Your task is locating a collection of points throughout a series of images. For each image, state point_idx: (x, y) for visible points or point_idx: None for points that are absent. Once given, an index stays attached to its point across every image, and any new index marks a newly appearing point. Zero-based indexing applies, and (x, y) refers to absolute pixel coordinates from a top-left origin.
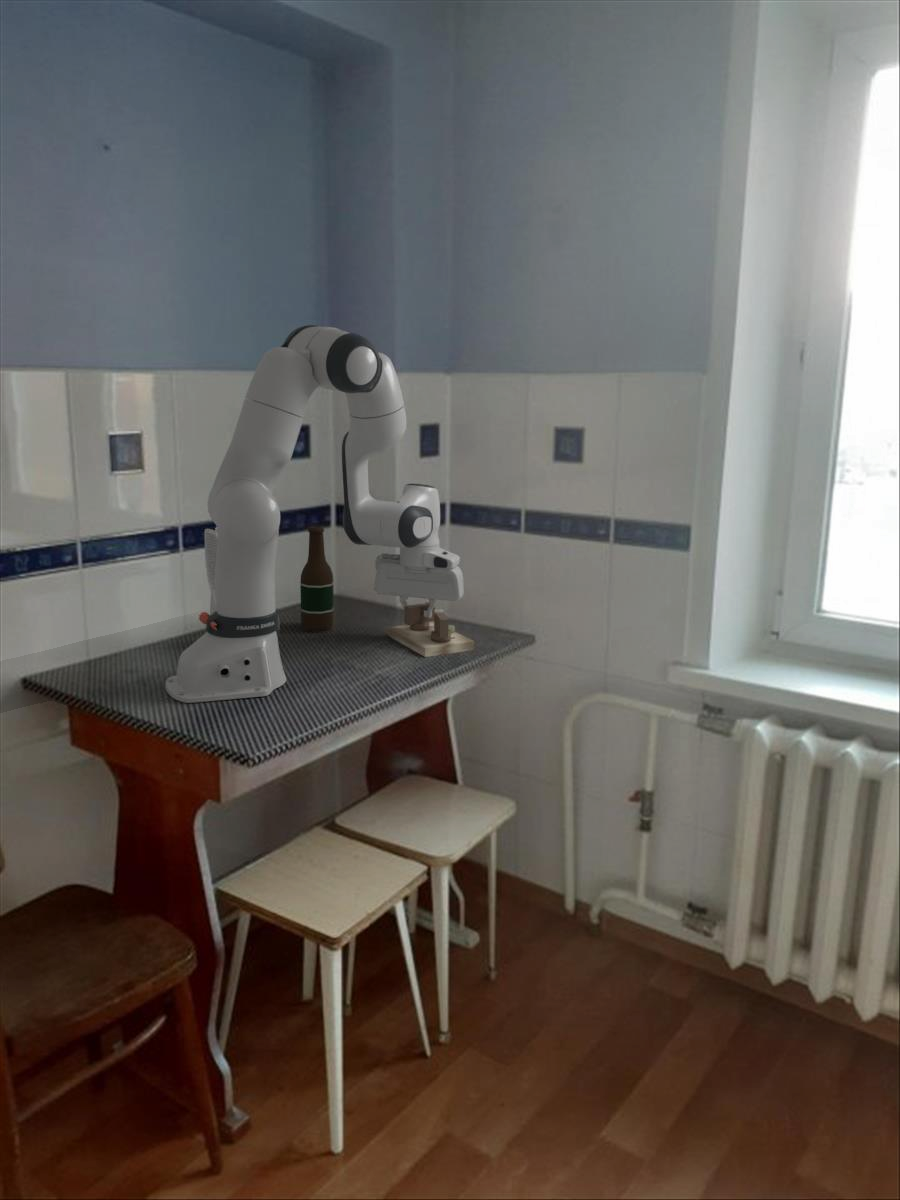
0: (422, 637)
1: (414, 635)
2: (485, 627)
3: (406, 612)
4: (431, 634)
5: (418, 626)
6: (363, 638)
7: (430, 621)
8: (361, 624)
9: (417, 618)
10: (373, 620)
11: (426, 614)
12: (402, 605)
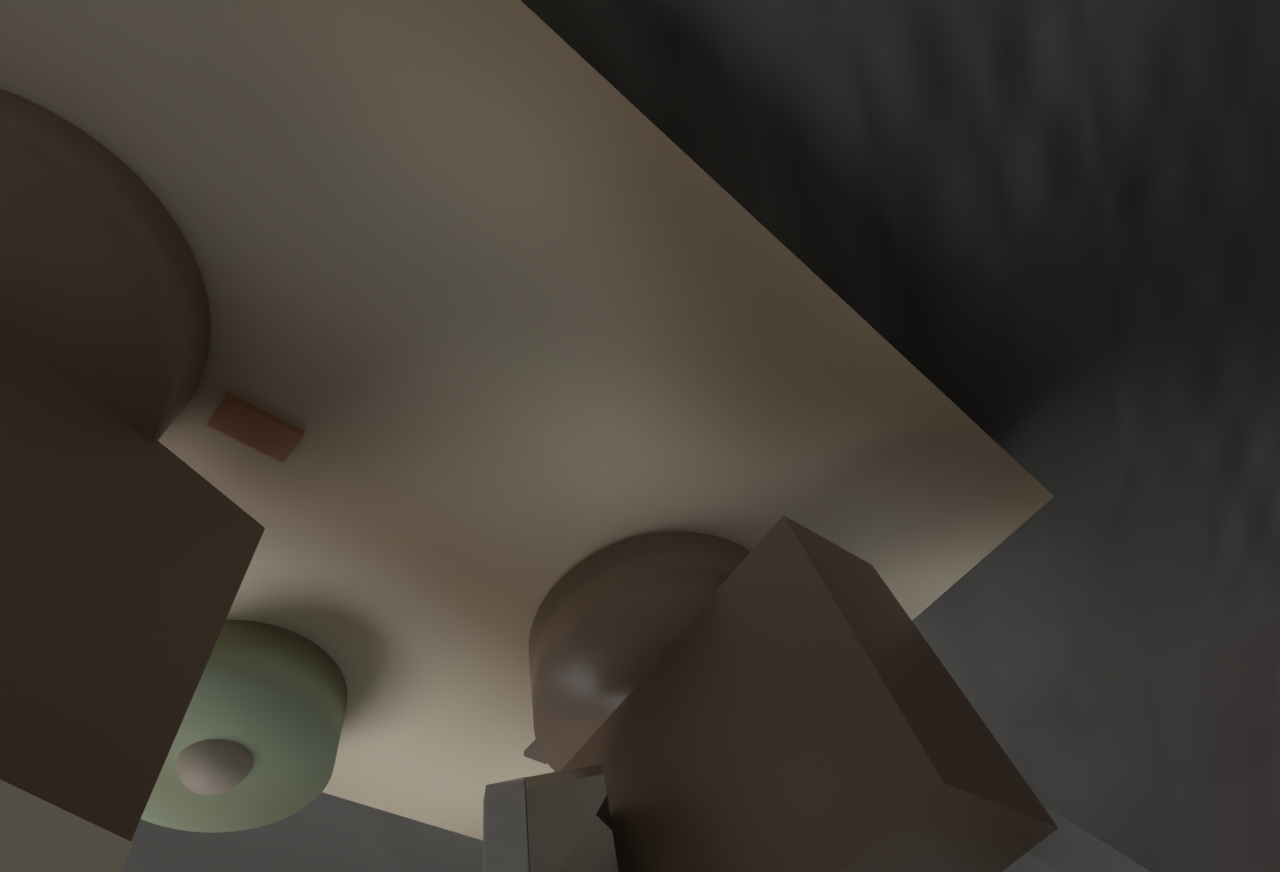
0: (402, 276)
1: (586, 323)
2: None
3: (935, 697)
4: (45, 173)
5: (637, 582)
6: (1257, 216)
7: None
8: (1266, 616)
9: (701, 701)
10: (1168, 735)
11: (551, 823)
12: (1101, 845)
